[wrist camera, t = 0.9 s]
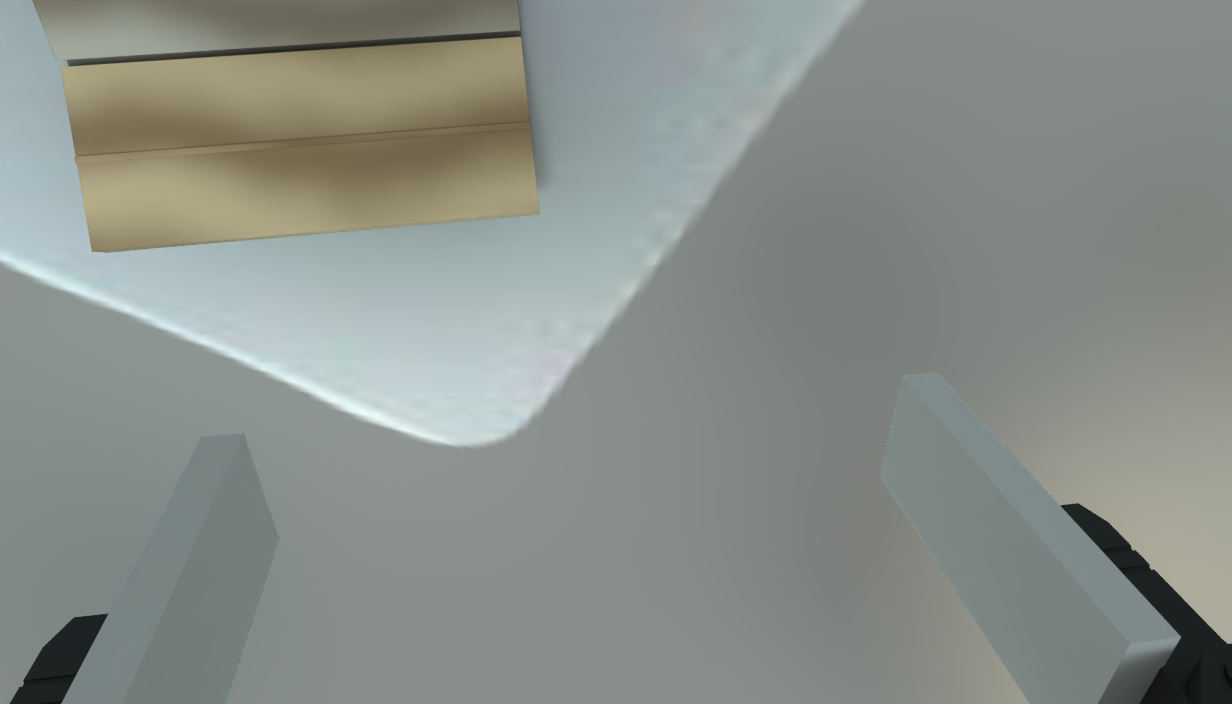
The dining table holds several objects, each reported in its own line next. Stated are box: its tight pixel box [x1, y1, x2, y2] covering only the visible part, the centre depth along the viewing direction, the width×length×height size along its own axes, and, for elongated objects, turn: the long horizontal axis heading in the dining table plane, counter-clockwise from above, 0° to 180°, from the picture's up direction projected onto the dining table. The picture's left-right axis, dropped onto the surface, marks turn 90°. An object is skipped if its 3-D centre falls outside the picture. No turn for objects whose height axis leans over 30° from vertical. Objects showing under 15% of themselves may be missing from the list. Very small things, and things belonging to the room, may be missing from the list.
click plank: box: [61, 37, 539, 252], centre depth 35 cm, size 8×20×1 cm, turn 93°
